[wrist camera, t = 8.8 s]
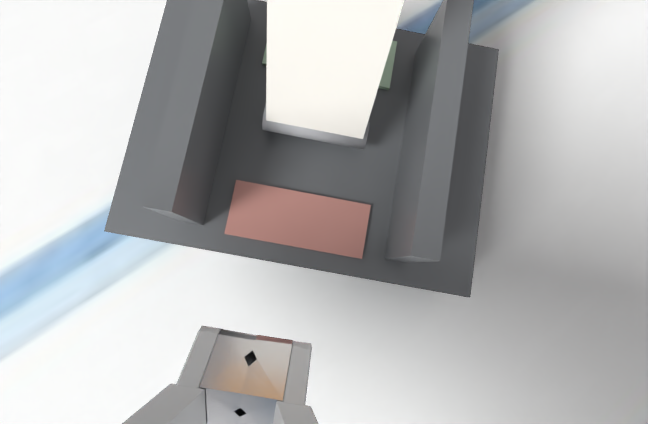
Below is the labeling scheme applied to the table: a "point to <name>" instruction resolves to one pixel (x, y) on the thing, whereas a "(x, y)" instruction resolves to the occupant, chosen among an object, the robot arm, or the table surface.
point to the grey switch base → (311, 154)
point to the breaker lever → (326, 66)
